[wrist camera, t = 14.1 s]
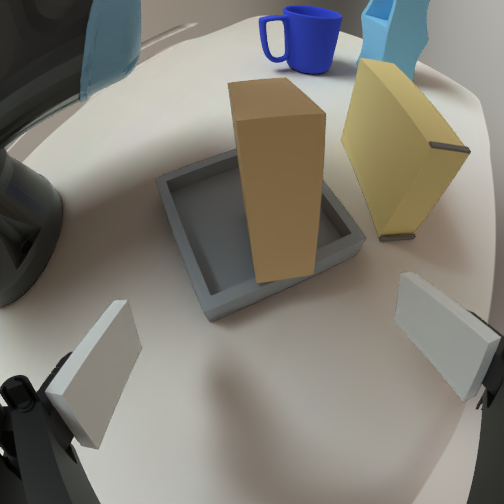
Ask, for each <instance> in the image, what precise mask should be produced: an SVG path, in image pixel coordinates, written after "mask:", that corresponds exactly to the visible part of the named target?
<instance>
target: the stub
mask: <svg viewBox="0 0 504 504" xmlns="http://www.w3.org/2000/svg"><path fill="white" fill-rule="evenodd" d="M228 89H229V97H230V105H231V112H232V120H233V127H234V135H235V142H236V150H237V157H238V164H239V172H240V179H241V187H242V194H243V202H244V209H245V215H246V222H247V228H248V234H249V240H250V246H251V252H252V258H253V264H254V270H255V277H256V283H264V282H270V281H277V280H283V279H289V278H296V277H302V276H308V275H313V273H314V265H315V256H316V248H317V238H318V229H319V218H320V207H321V195H322V182H323V167H324V150H325V127H326V113H325V112H324V111H323V110H322V109H321V108H320V107H319V106H317V105H316V104H315V103H314V102H313V101H312V100H311V99H310V98H309V97H308V96H307V95H305V94H304V93H303V92H302V91H301V90H300V89H299V88H298V87H296V86H295V85H294V84H293V83H292V82H291V81H289V80H288V79H287V78H271V79H259V80H249V81H240V82H232V83H228Z"/></svg>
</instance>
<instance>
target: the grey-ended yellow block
mask: <svg viewBox="0 0 504 504" xmlns="http://www.w3.org/2000/svg"><path fill="white" fill-rule="evenodd" d="M341 141H342V144H343V146H344V148H345V150H346V153H347V155H348V157H349V160H350V162H351V164H352V167H353V169H354V171H355V174H356V176H357V179H358V181H359V184H360V186H361V189H362V192H363V194H364V197H365V200H366V202H367V205H368V208H369V211H370V213H371V216H372V219H373V222H374V225H375V228H376V231H377V234H378V237H380V239H379V240H380V242H382V241H393V240H405V239H414V238H415V237H416V236H415V234H413V233H414V232H415V230H416V229H417V228H418V226H419V225H420V224H421V223H422V221H423V220H424V219H425V217H426V216H427V215H428V213H429V212H430V211H431V209H432V208H433V207H434V205H435V204H436V203H437V201H438V200H439V198H440V197H441V196H442V194H443V193H444V191H445V190H446V189H447V187H448V186H449V184H450V183H451V181H452V180H453V178H454V177H455V175H456V174H457V172H458V171H459V169H460V168H461V166H462V165H463V163H464V162H465V160H466V159H467V157H468V155H469V154H470V152H471V151H470V149H469V148H468V147H465V146H464V145H463V143H462V142H461V140H460V139H459V138H458V136H457V135H456V133H455V132H454V131H453V129H452V128H451V127H450V125H449V124H448V123H447V122H446V120H445V119H444V118H443V116H442V115H441V114H440V113H439V112H438V110H437V109H436V108H435V107H434V106H433V104H432V103H431V102H430V101H429V100H428V99H427V97H426V96H425V95H424V94H423V93H422V92H421V91H420V90H419V88H418V87H417V86H416V85H415V84H414V83H413V82H412V81H411V80H410V79H409V78H408V77H407V76H406V75H405V74H404V73H403V72H402V71H401V70H400V69H399V68H398V67H397V66H396V65H395V64H394V63H389V62H383V61H378V60H372V59H365V58H360V60H359V65H358V70H357V74H356V79H355V83H354V88H353V92H352V97H351V101H350V105H349V109H348V113H347V117H346V121H345V126H344V129H343V133H342V137H341Z"/></svg>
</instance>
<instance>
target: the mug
mask: <svg viewBox="0 0 504 504" xmlns="http://www.w3.org/2000/svg"><path fill="white" fill-rule="evenodd" d="M275 20H281V21H282V22H283V24H284V35H285V54H284V56H282V57H278V58H276V57H273V56H272V55H271V53H270V51H269V48H268V42H267V32H266V23H267V22H269V21H275ZM341 22H342V15H340V14H339V13H337V12H334V11H331V10H328V9H324V8H319V7H313V6H301V5H295V6H287V7H285V8H283V15H274V16H266V17H261V18H259V29H260V37H261V43H262V48H263V51H264V54H265V55H266V57H267V58H268V59H269V60H270V61H272V62H276V63H279V62H283V61H285V60H286V61H287V63H288V65H289V66H290V67H291V68H293V69H295V70H297V71H300V72H304V73H311V74H318V73H323V72H326V71H327V70H328V69H329V68H330V66H331V63H332V59H333V55H334V51H335V47H336V43H337V39H338V35H339V31H340V26H341Z"/></svg>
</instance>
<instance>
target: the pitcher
mask: <svg viewBox="0 0 504 504" xmlns="http://www.w3.org/2000/svg"><path fill="white" fill-rule="evenodd" d="M429 2H430V0H370V2H369V4H368V5H367V7H366V8H365V10H364V11H363V13H362V17H361V20H362V27H363V45H362V50H361V53H360V56H359V58H358V61H357V63H356V64H357V65H359V60H360V58H365V59H372V60H378V61H383V62H389V63H394V64H395V65H396V66H397V67H398V68H399V69H400V70H401V71H402V72H403V73H404V74H405V75H406V76H407V77H408V78H409V79H410V80H411V81H412V82H413V77H414V69H415V65H416V62H417V59H418V57H419V55H420V54H421V52H422V50H423V49H424V47H425V46H426V44H427V42H428V32H427V22H426V21H427V19H426V17H427V9H428V5H429Z"/></svg>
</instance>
